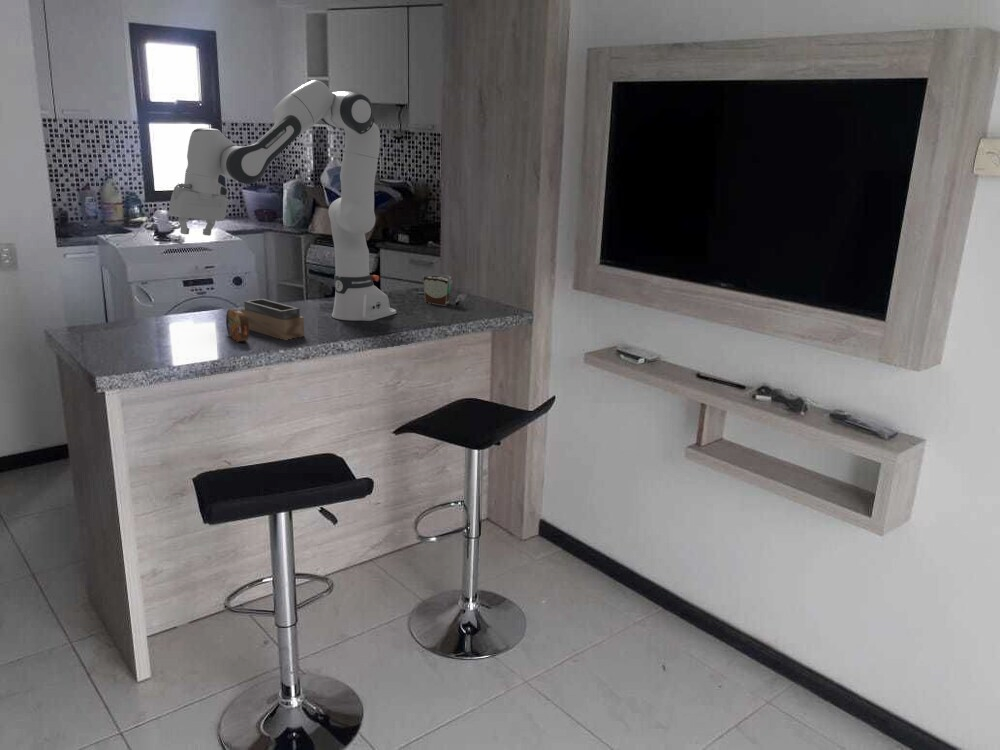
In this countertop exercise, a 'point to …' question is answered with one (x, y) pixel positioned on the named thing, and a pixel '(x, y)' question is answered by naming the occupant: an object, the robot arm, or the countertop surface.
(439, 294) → the food container
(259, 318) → the open rectangular box
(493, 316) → the countertop surface
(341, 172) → the robot arm
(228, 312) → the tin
